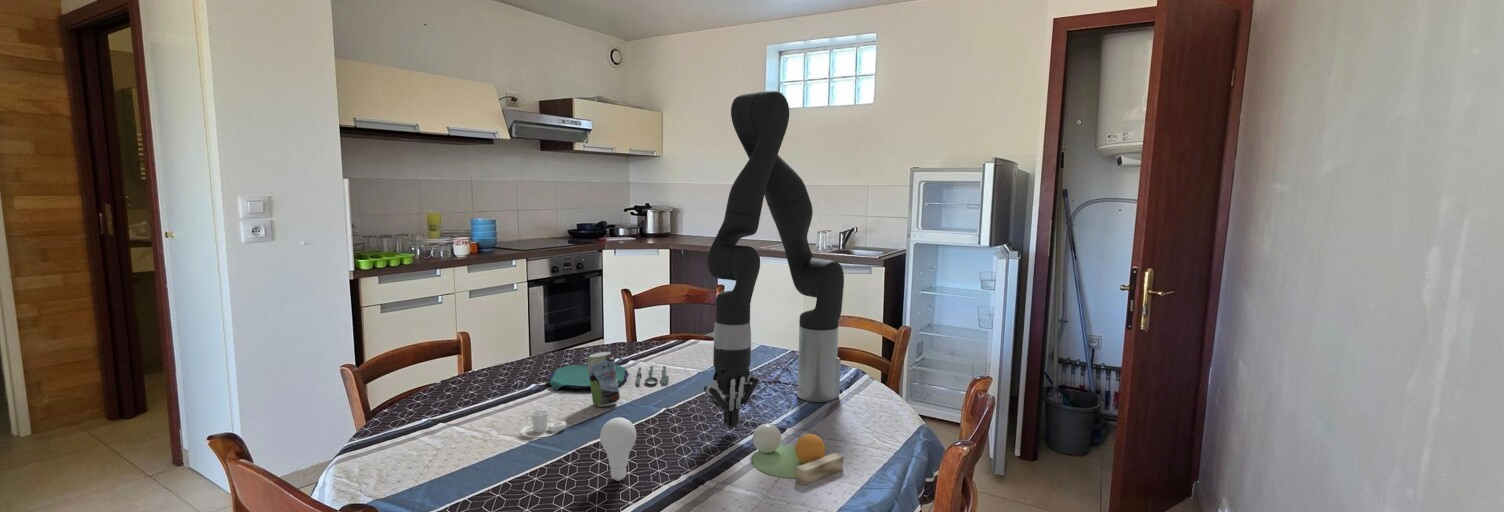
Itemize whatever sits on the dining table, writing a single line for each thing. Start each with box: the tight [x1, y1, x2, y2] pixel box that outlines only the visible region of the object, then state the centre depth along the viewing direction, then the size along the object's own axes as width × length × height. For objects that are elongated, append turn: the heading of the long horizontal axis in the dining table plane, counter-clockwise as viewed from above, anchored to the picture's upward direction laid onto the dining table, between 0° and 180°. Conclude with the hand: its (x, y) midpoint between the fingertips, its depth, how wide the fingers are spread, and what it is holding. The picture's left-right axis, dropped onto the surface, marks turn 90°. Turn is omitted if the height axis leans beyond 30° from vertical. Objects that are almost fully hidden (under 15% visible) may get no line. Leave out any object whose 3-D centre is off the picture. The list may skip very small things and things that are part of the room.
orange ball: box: [794, 433, 826, 464], centre depth 125 cm, size 6×6×6 cm
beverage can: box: [586, 351, 620, 408], centre depth 154 cm, size 6×7×12 cm
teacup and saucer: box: [519, 410, 567, 439], centre depth 139 cm, size 9×8×4 cm
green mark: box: [752, 444, 826, 479], centre depth 126 cm, size 14×14×1 cm
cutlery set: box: [548, 363, 670, 391], centre depth 173 cm, size 20×30×2 cm, turn 98°
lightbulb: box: [599, 416, 637, 482], centre depth 117 cm, size 6×6×11 cm
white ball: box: [752, 422, 782, 453], centre depth 130 cm, size 6×6×6 cm
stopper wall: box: [795, 452, 844, 486], centre depth 120 cm, size 10×2×2 cm, turn 131°
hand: (730, 426), depth 139 cm, fingers closed
